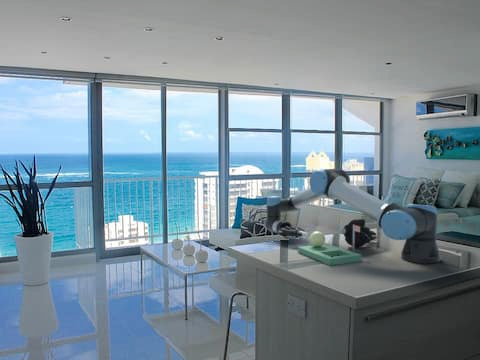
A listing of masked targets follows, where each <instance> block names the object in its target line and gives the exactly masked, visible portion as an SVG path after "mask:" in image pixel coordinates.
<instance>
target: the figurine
mask: <svg viewBox="0 0 480 360" xmlns="http://www.w3.org/2000/svg"><path fill="white" fill-rule="evenodd" d="M353 225H356V226H360V232H357V231H355V249H357V248H358V249H359V248H361V247H363V246H365V245H367V244H370V243H371V242H372V241H374V242H377V241H378V238H381V236H378V235H377V232H374V231H373V230H371V229H370V228H369V227H367V224H366V220H365V219H364V218H363V219H362V218H361V219H352V220H350V221H349V222H348V224H345V225H344V227H340V228H339V229H338V232H339V234H341V235H343V236H344V240H345V242H346V243H347V244H348V245H349V246H351V247H353Z"/></svg>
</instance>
